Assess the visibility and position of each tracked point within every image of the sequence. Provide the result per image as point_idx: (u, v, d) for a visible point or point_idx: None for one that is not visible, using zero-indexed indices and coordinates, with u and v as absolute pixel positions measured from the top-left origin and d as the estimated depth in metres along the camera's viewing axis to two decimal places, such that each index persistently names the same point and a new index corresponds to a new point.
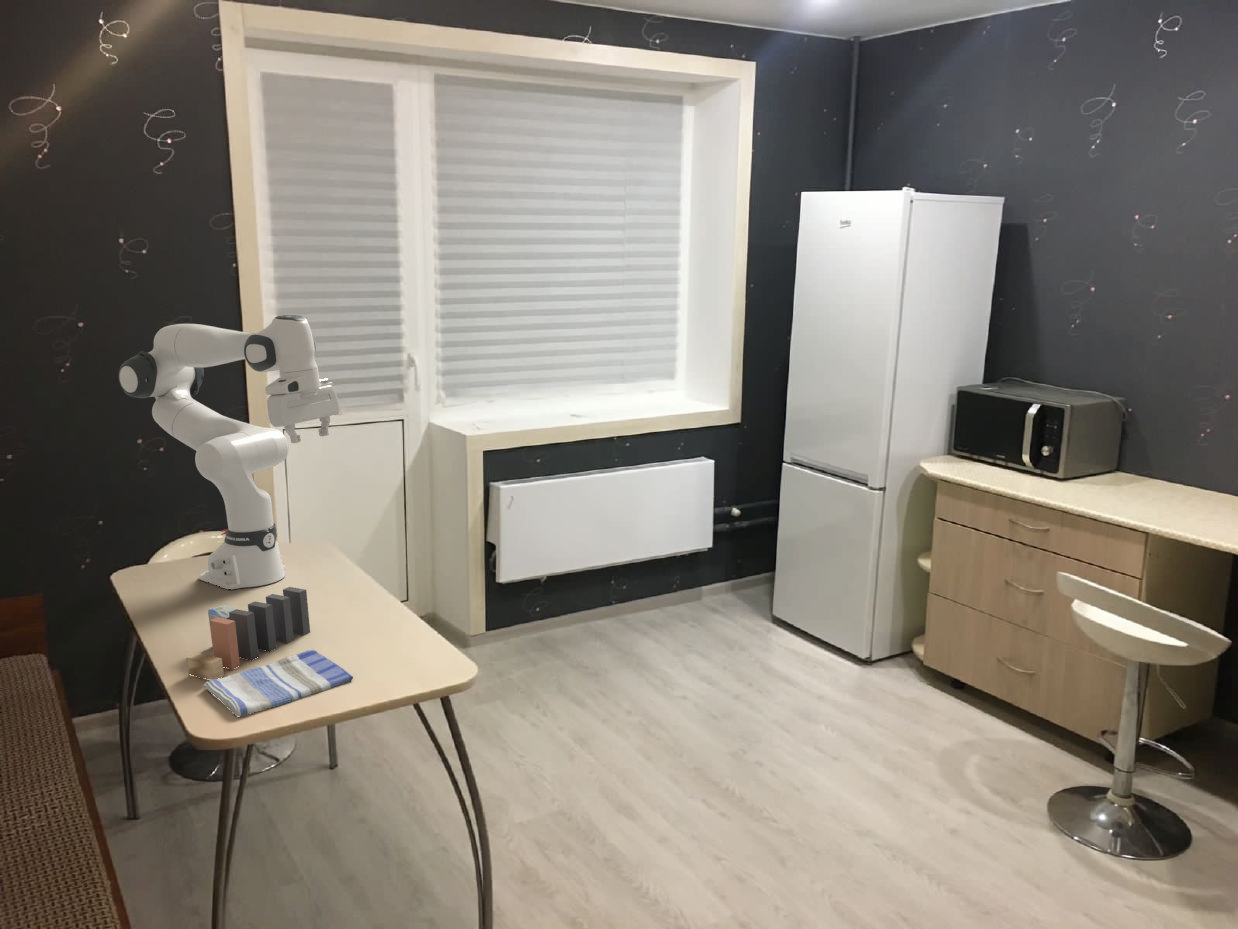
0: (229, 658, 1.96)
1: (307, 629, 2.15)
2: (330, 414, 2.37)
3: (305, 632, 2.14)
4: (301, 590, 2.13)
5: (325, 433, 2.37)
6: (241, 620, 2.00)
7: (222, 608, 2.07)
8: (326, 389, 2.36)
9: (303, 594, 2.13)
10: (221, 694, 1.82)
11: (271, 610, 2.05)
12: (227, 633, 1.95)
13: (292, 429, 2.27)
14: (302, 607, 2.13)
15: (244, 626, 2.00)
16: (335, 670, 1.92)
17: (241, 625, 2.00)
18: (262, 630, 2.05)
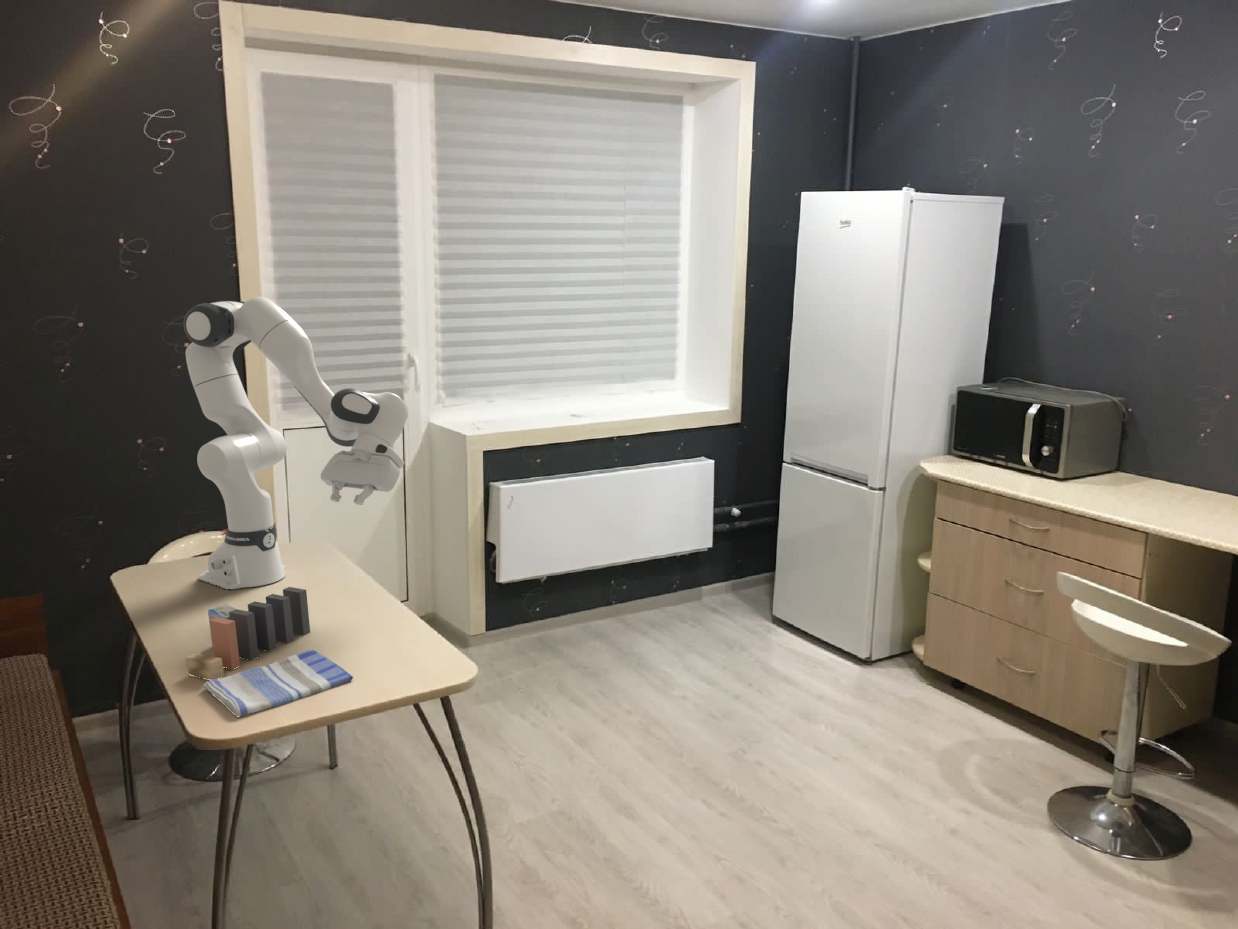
0: (229, 658, 1.96)
1: (307, 629, 2.15)
2: None
3: (305, 632, 2.14)
4: (301, 590, 2.13)
5: None
6: (241, 620, 2.00)
7: (222, 608, 2.07)
8: None
9: (303, 594, 2.13)
10: (221, 694, 1.82)
11: (271, 610, 2.05)
12: (227, 633, 1.95)
13: None
14: (302, 607, 2.13)
15: (244, 626, 2.00)
16: (335, 670, 1.92)
17: (241, 625, 2.00)
18: (262, 630, 2.05)
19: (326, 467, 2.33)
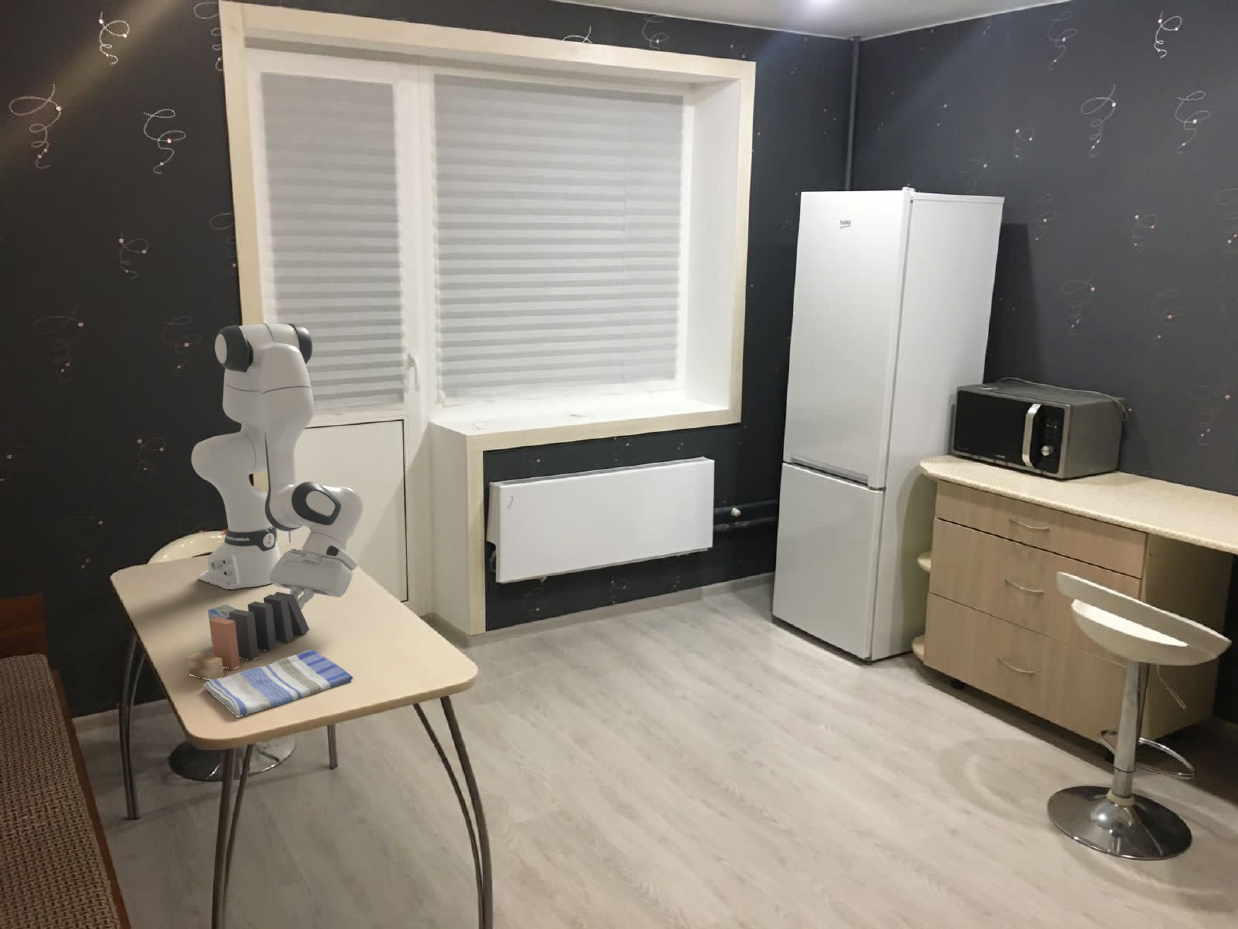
0: (229, 658, 1.96)
1: (305, 628, 2.14)
2: None
3: (304, 632, 2.14)
4: (289, 596, 2.10)
5: None
6: (241, 620, 2.00)
7: (222, 608, 2.07)
8: None
9: (292, 600, 2.10)
10: (221, 694, 1.82)
11: (271, 610, 2.05)
12: (227, 633, 1.95)
13: None
14: (294, 612, 2.11)
15: (244, 626, 2.00)
16: (334, 670, 1.92)
17: (241, 625, 2.00)
18: (262, 630, 2.05)
19: (275, 568, 2.20)
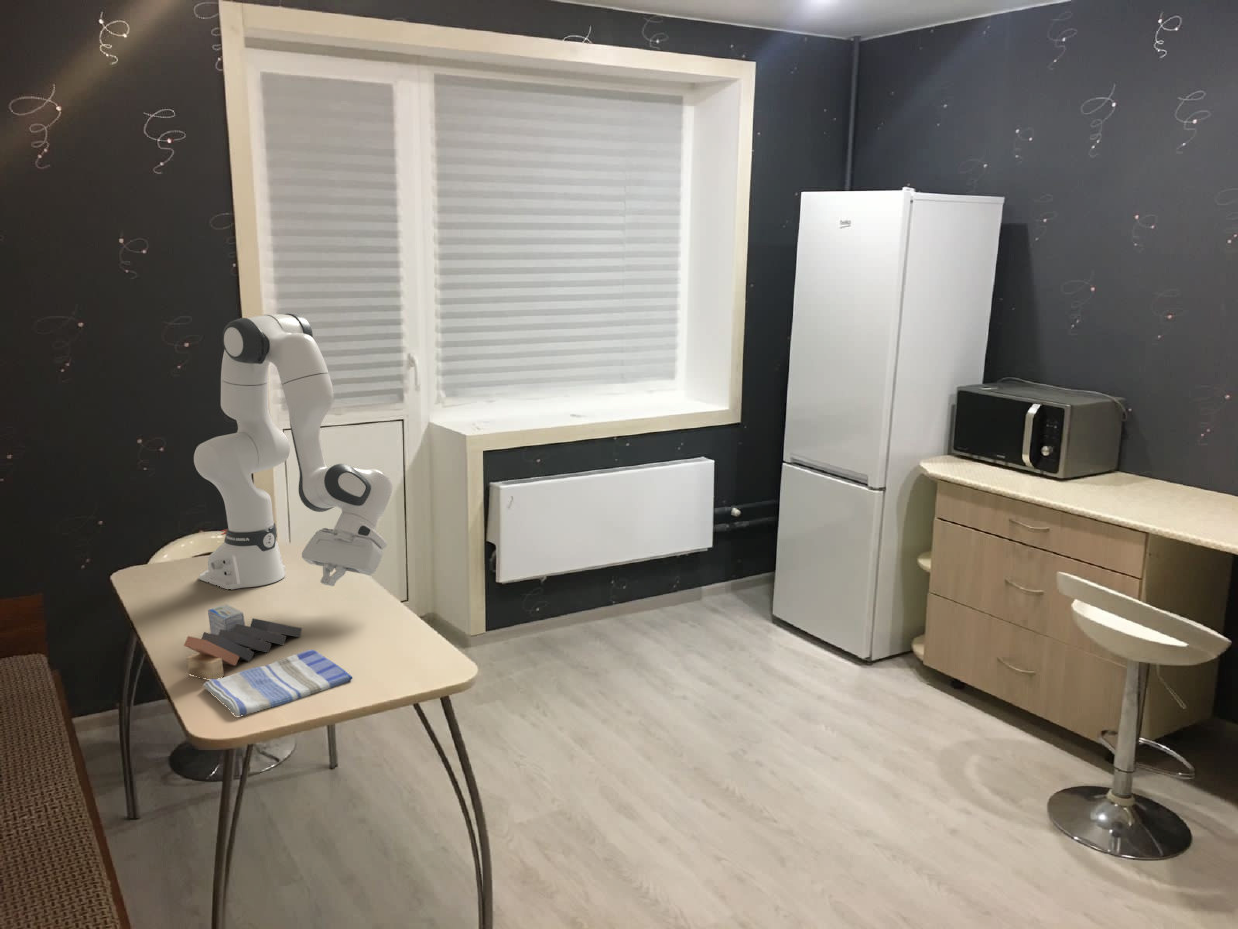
0: (225, 661, 1.95)
1: (298, 631, 2.12)
2: None
3: (298, 634, 2.12)
4: (266, 624, 2.05)
5: None
6: None
7: (222, 608, 2.07)
8: None
9: (271, 626, 2.05)
10: (220, 694, 1.82)
11: (241, 636, 1.98)
12: (207, 652, 1.91)
13: None
14: (279, 631, 2.07)
15: None
16: (334, 670, 1.92)
17: None
18: None
19: (308, 546, 2.29)
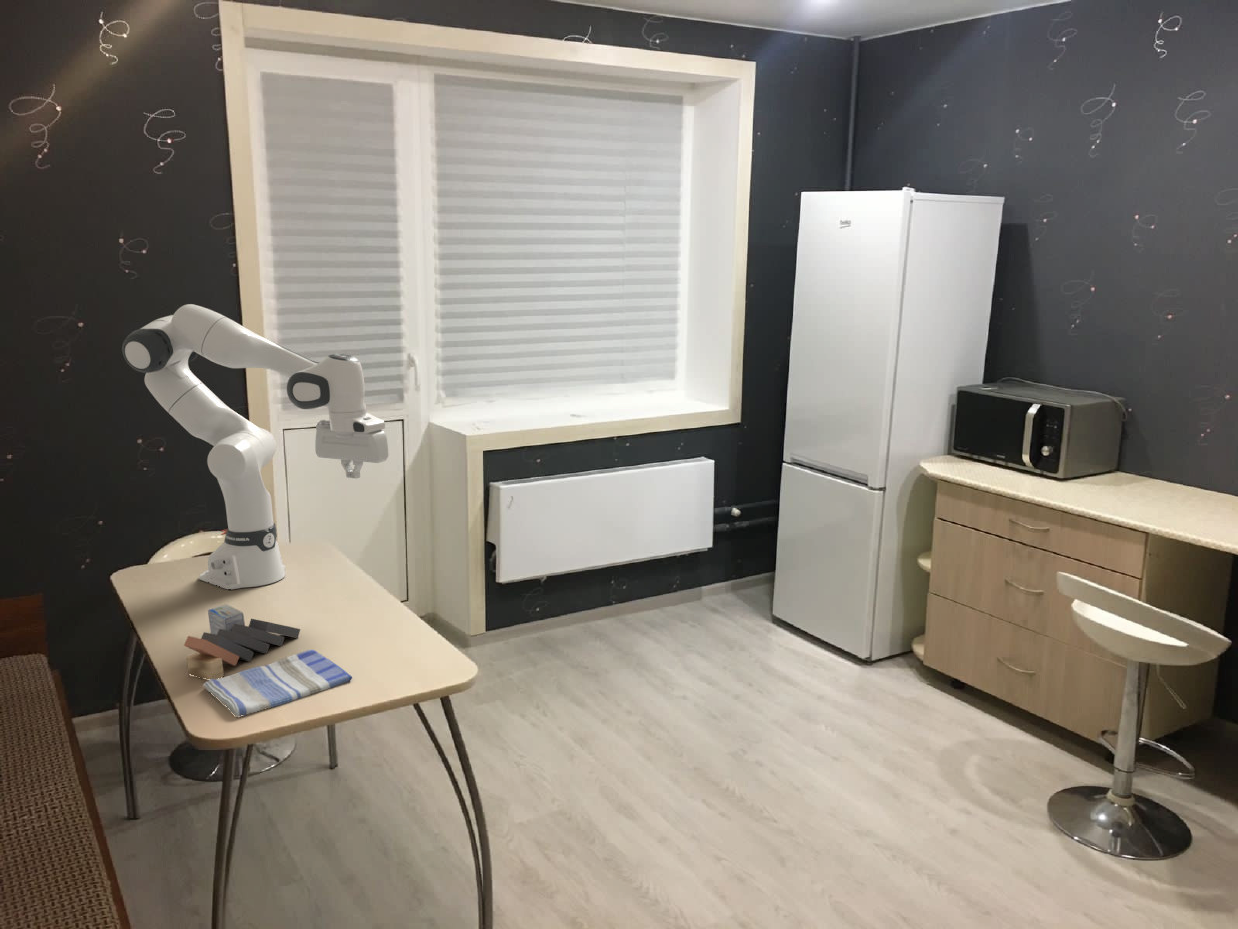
0: (225, 661, 1.95)
1: (296, 631, 2.12)
2: None
3: (297, 635, 2.12)
4: (264, 625, 2.04)
5: None
6: None
7: (222, 608, 2.07)
8: None
9: (269, 626, 2.05)
10: (220, 694, 1.82)
11: (240, 636, 1.97)
12: (207, 652, 1.91)
13: None
14: (278, 632, 2.07)
15: None
16: (334, 670, 1.92)
17: None
18: (245, 647, 2.01)
19: (317, 445, 2.36)
